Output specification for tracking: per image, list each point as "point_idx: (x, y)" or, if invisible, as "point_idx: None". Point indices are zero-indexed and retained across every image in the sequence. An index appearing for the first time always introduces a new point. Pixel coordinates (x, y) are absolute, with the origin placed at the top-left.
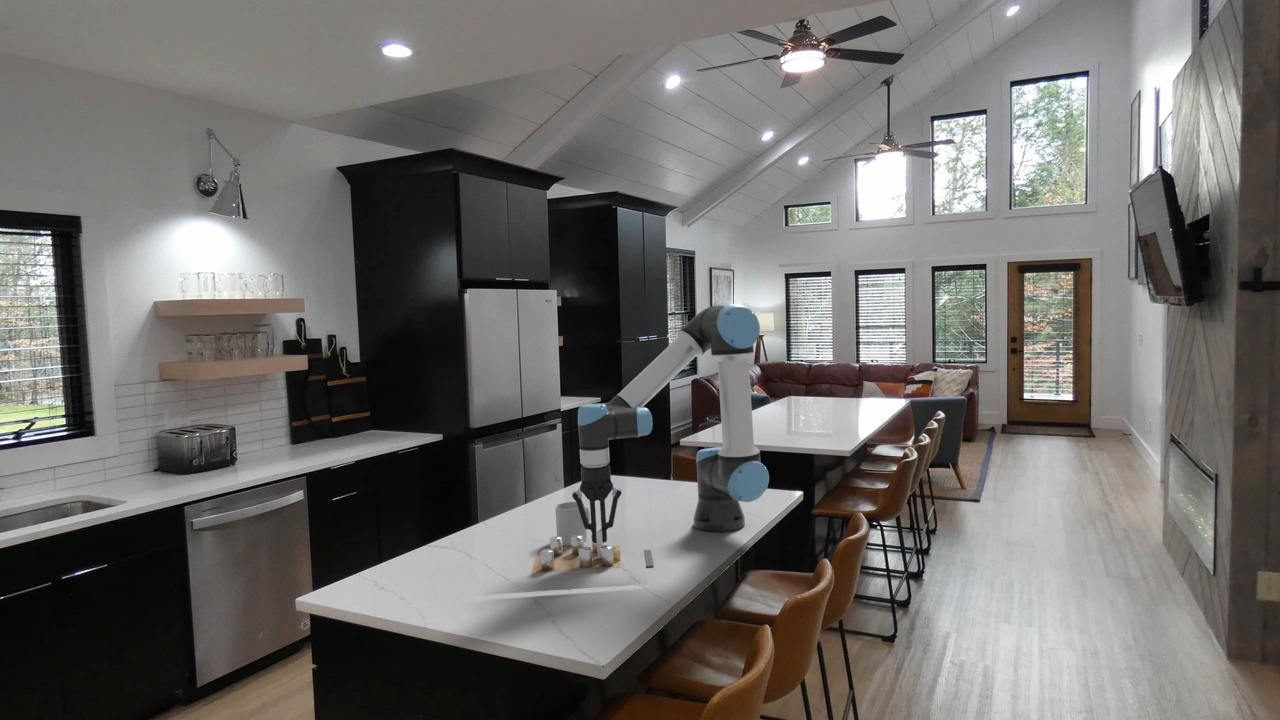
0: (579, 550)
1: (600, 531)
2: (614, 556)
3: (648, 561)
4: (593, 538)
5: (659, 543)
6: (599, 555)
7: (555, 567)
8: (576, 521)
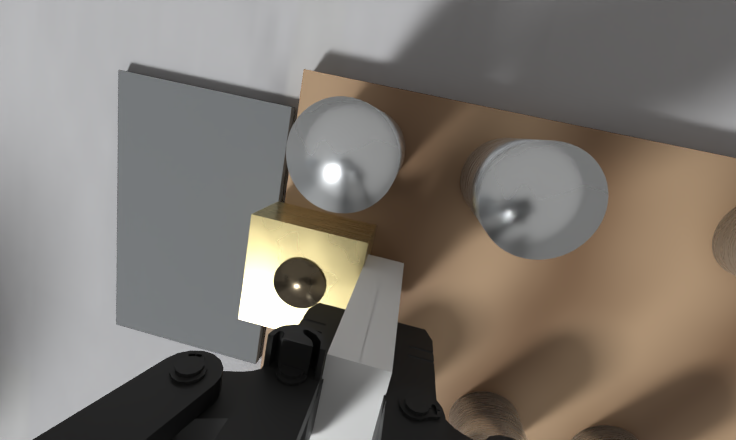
0: (605, 179)
1: (343, 355)
2: (303, 215)
3: (139, 150)
4: (420, 351)
5: (80, 397)
6: (391, 262)
7: (702, 240)
8: None
